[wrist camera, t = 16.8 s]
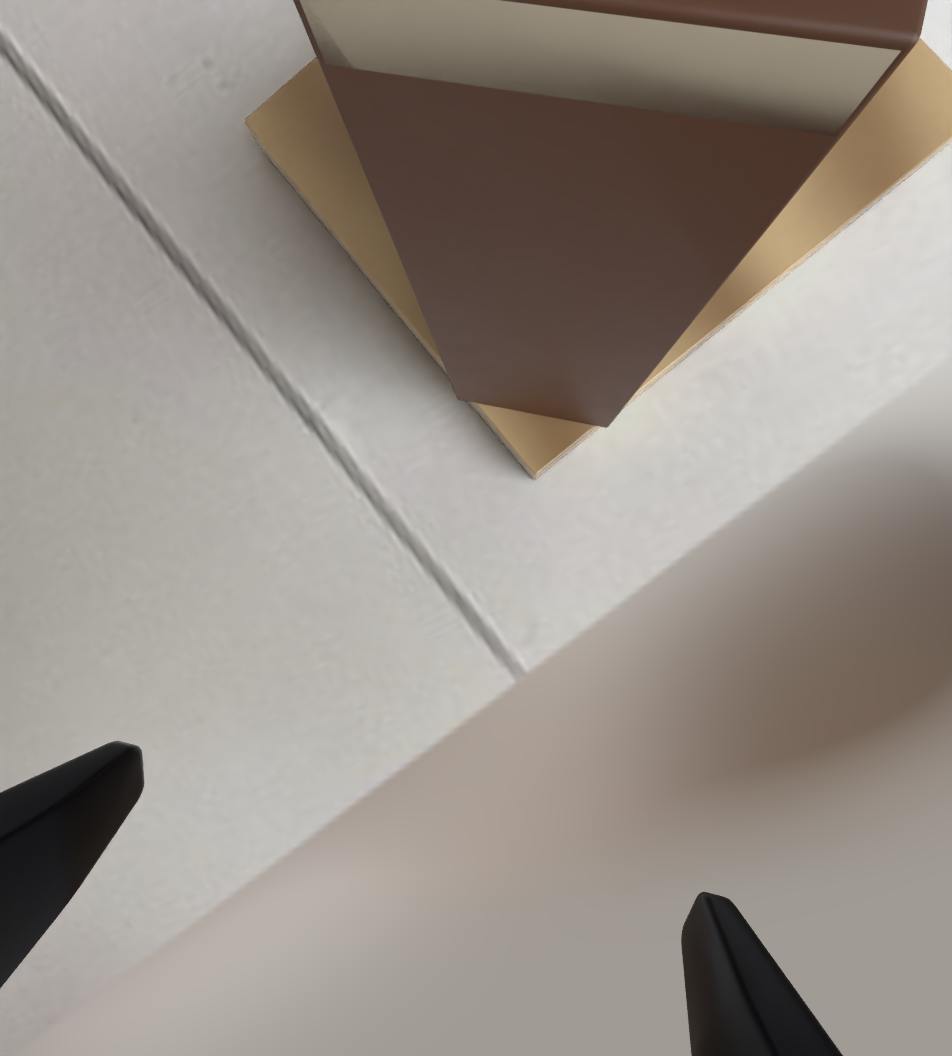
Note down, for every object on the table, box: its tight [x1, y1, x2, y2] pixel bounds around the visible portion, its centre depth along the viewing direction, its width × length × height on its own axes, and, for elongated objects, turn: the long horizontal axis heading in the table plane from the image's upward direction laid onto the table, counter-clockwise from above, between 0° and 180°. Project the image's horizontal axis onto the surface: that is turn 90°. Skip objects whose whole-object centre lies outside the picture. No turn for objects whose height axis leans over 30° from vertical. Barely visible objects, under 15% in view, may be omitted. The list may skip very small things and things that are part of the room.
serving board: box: [245, 38, 952, 480], centre depth 18 cm, size 18×16×2 cm
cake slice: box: [294, 0, 928, 428], centre depth 10 cm, size 9×5×13 cm, turn 168°
